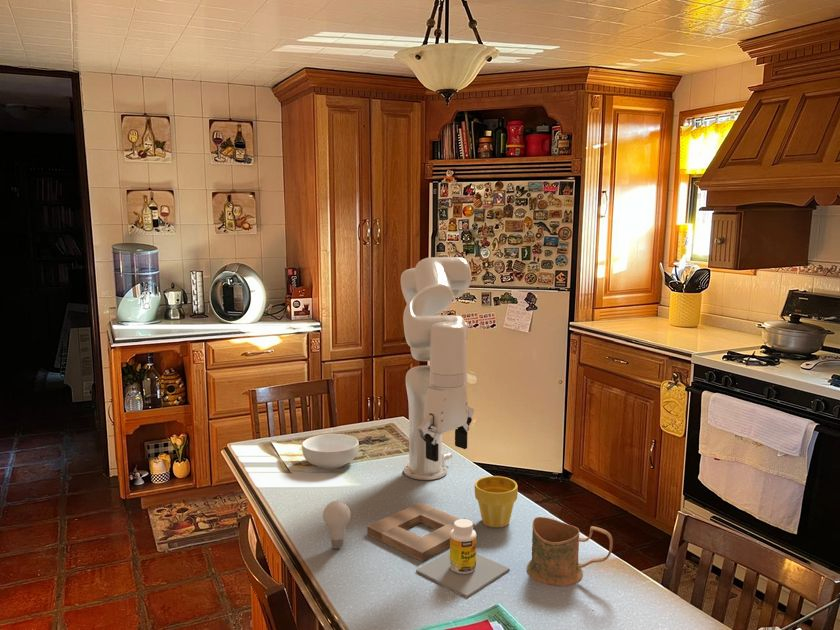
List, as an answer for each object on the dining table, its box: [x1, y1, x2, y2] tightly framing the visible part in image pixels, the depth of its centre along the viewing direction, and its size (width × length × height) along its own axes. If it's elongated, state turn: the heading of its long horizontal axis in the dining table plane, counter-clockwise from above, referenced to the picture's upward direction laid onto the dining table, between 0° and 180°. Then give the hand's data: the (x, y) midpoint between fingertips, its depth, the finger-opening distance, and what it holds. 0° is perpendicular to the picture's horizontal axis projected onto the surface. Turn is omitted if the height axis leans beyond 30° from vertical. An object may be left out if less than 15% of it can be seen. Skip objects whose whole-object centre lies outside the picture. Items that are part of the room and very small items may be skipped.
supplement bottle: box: [449, 518, 477, 574], centre depth 142 cm, size 6×6×10 cm
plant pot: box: [474, 475, 519, 528], centre depth 165 cm, size 10×10×10 cm
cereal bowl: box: [301, 433, 360, 470], centre depth 202 cm, size 17×17×7 cm
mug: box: [526, 516, 614, 587], centre depth 140 cm, size 12×18×12 cm, turn 58°
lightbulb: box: [322, 500, 351, 550], centre depth 152 cm, size 6×6×11 cm
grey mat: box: [415, 550, 510, 598], centre depth 143 cm, size 14×14×1 cm
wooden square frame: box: [366, 502, 476, 562], centre depth 159 cm, size 18×18×2 cm
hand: (446, 453), depth 150 cm, fingers open, 9 cm apart
